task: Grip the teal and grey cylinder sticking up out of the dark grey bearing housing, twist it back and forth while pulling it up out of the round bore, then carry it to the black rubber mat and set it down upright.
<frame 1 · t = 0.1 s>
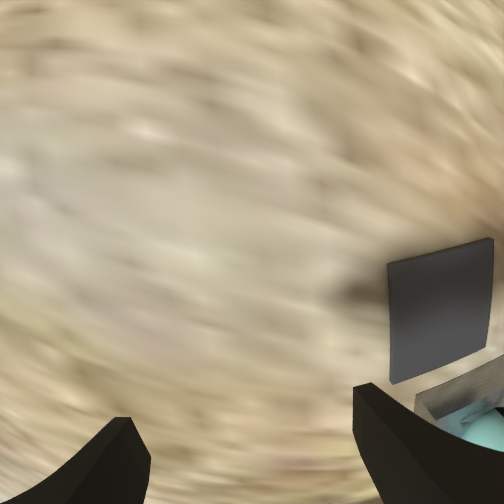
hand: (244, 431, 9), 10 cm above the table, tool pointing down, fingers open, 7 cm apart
teal and grey cylinder: (484, 435, 18), in the housing
housing: (463, 411, 22), on the table
mat: (443, 310, 20), on the table
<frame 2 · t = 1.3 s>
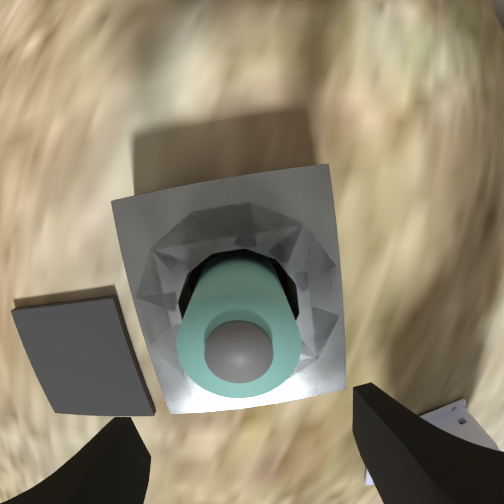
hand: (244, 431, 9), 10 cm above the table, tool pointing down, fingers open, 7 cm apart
teal and grey cylinder: (238, 312, 15), in the housing
housing: (238, 285, 18), on the table
mat: (80, 361, 19), on the table
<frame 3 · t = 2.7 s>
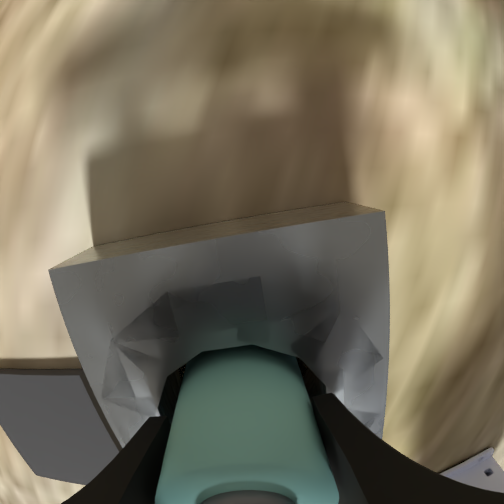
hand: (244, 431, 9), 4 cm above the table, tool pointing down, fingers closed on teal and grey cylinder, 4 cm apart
teal and grey cylinder: (243, 425, 9), in the housing, touching gripper
housing: (242, 363, 13), on the table
mat: (54, 432, 14), on the table
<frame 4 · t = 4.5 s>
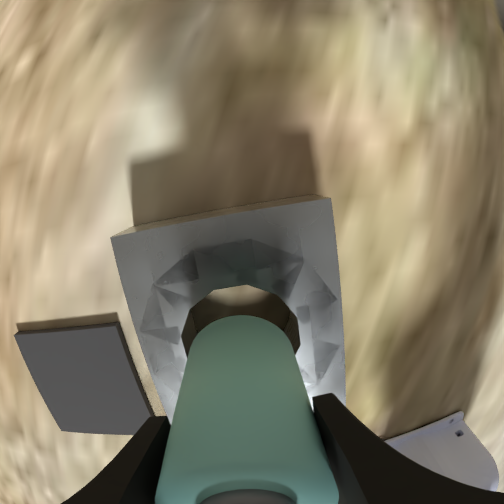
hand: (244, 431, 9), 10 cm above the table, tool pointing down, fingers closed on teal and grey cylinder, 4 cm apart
teal and grey cylinder: (243, 424, 9), point 9 cm above the table, touching gripper
housing: (240, 312, 18), on the table
mat: (85, 383, 19), on the table
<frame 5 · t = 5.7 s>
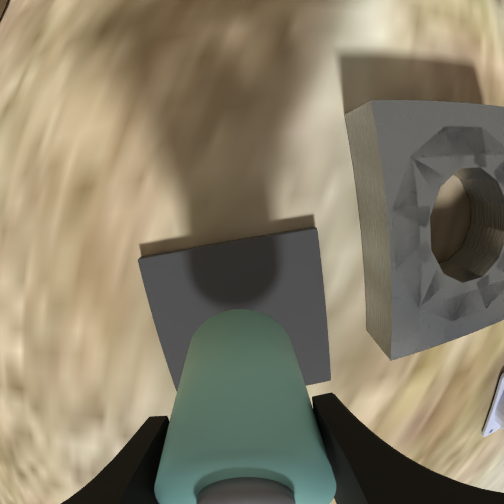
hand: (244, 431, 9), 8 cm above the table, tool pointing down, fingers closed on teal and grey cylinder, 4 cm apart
teal and grey cylinder: (242, 416, 10), point 8 cm above the table, touching gripper
housing: (436, 216, 16), on the table
mat: (241, 323, 17), on the table
when the fingers open (5 cm above the table, at t = 6.6 s): teal and grey cylinder stays where it is, resting on mat.
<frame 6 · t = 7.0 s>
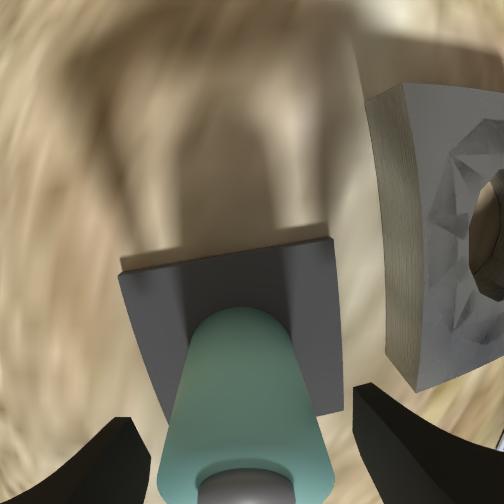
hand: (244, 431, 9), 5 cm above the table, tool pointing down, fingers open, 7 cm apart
teal and grey cylinder: (242, 411, 10), on the mat, point 5 cm above the table
housing: (466, 223, 13), on the table
mat: (241, 349, 14), on the table
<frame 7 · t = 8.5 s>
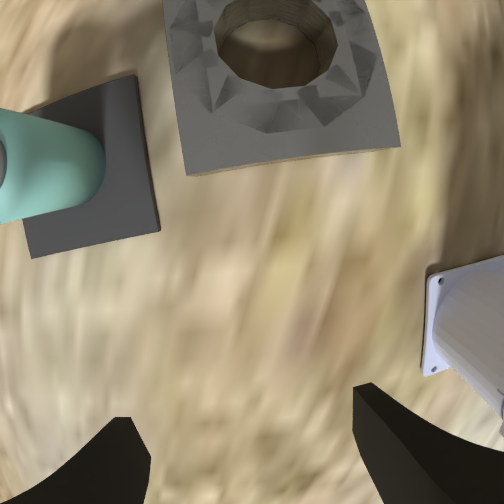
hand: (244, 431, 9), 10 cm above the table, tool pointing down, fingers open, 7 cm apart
teal and grey cylinder: (34, 166, 12), on the mat, point 5 cm above the table
housing: (269, 59, 16), on the table
mat: (77, 170, 16), on the table
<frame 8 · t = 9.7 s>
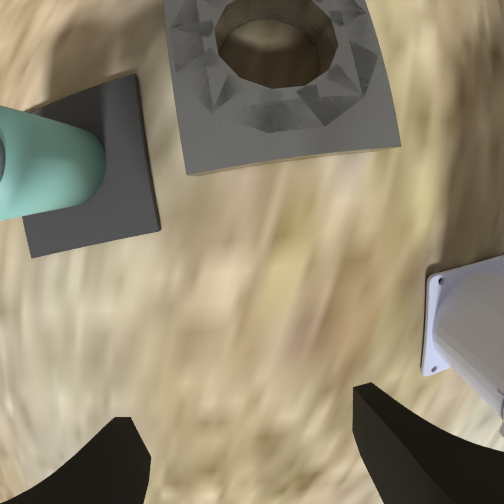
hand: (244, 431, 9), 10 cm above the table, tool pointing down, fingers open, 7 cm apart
teal and grey cylinder: (33, 165, 12), on the mat, point 5 cm above the table
housing: (270, 59, 16), on the table
mat: (77, 169, 16), on the table
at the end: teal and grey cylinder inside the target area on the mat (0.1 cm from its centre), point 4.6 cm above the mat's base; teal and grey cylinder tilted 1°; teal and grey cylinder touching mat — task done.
